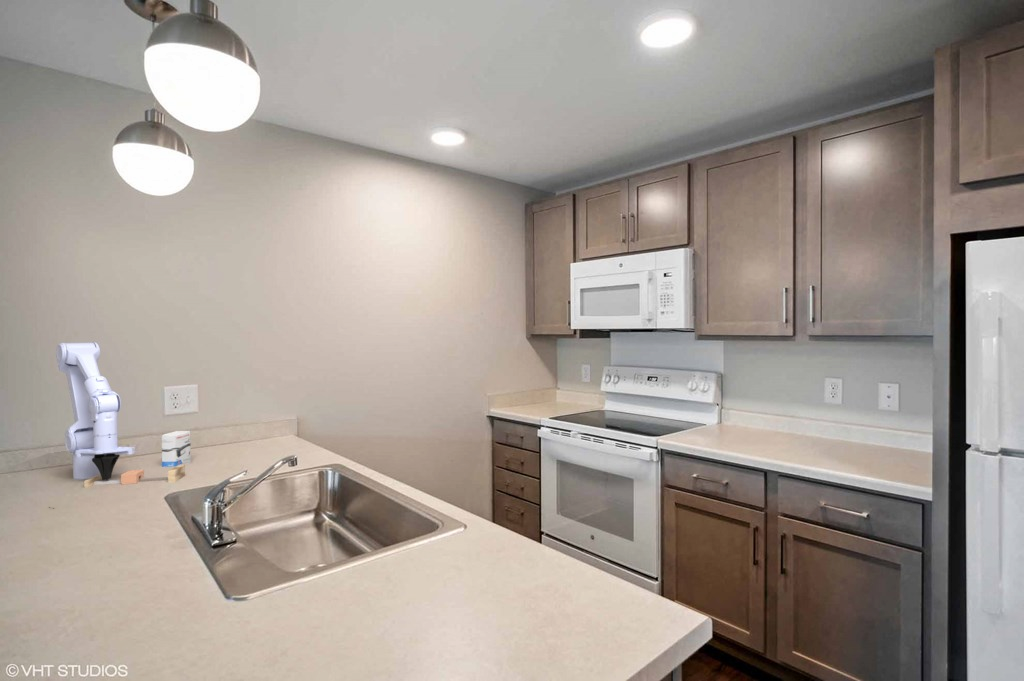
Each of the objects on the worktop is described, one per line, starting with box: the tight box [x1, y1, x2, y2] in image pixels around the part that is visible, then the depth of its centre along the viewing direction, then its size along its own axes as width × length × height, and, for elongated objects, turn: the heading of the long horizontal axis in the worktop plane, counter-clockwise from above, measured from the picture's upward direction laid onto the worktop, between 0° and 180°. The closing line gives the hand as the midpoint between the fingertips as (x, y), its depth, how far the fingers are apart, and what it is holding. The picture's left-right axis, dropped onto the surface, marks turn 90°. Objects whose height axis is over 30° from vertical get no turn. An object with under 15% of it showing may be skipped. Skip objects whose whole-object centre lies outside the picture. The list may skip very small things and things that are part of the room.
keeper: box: [120, 469, 145, 485], centre depth 156 cm, size 5×4×3 cm
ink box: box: [161, 430, 192, 468], centre depth 177 cm, size 8×5×12 cm, turn 179°
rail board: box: [83, 464, 186, 489], centre depth 156 cm, size 7×24×4 cm, turn 102°
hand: (106, 479), depth 154 cm, fingers closed
